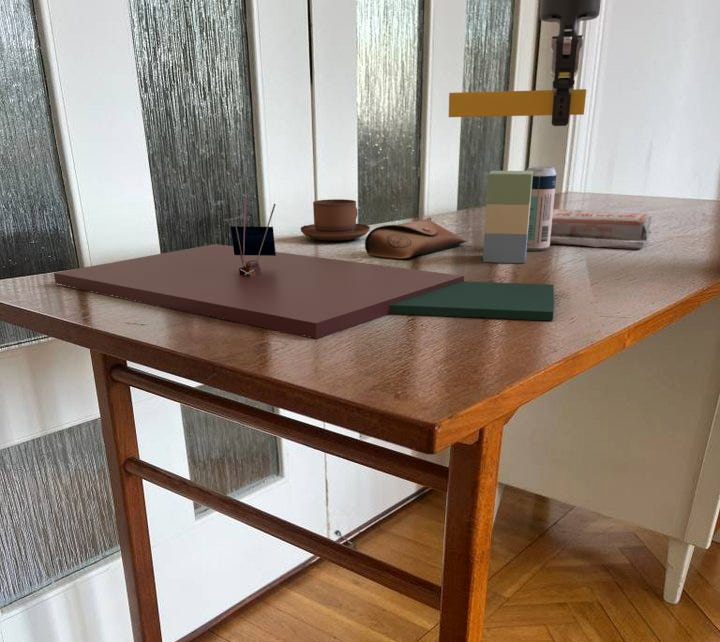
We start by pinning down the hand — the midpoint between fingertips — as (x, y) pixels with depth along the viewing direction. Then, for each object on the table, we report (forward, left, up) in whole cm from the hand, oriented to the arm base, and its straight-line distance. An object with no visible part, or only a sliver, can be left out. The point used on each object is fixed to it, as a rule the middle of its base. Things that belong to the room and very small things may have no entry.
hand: (559, 124), depth 103 cm
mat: (+10, +29, -18) cm, 36 cm away
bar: (+6, 0, +1) cm, 6 cm away
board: (+36, +25, -18) cm, 48 cm away
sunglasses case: (+20, -6, -18) cm, 28 cm away
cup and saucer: (+36, -15, -18) cm, 43 cm away
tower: (+6, 0, -18) cm, 19 cm away
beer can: (+2, -10, -18) cm, 21 cm away
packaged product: (-7, -18, -18) cm, 27 cm away
